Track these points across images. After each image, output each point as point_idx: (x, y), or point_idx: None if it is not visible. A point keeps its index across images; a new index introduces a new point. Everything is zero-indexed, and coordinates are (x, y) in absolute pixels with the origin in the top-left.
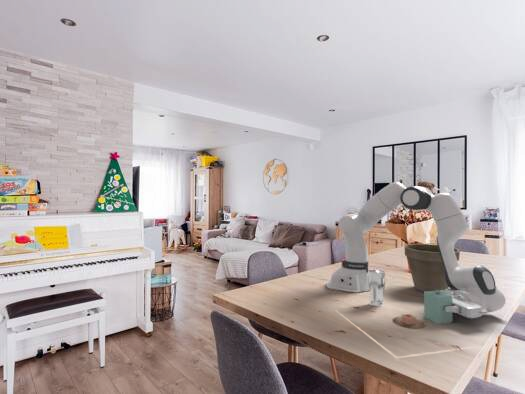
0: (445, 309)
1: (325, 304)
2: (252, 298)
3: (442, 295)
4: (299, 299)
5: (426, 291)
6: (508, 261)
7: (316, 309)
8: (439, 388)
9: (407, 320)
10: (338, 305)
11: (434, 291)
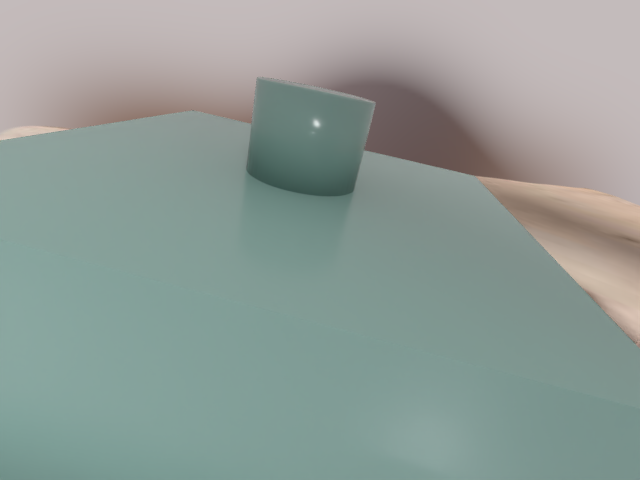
0: None
1: (594, 254)
2: (595, 203)
3: (159, 141)
4: (630, 242)
5: (484, 188)
6: None
7: (527, 223)
8: (39, 126)
9: None
10: (594, 271)
11: (488, 239)
